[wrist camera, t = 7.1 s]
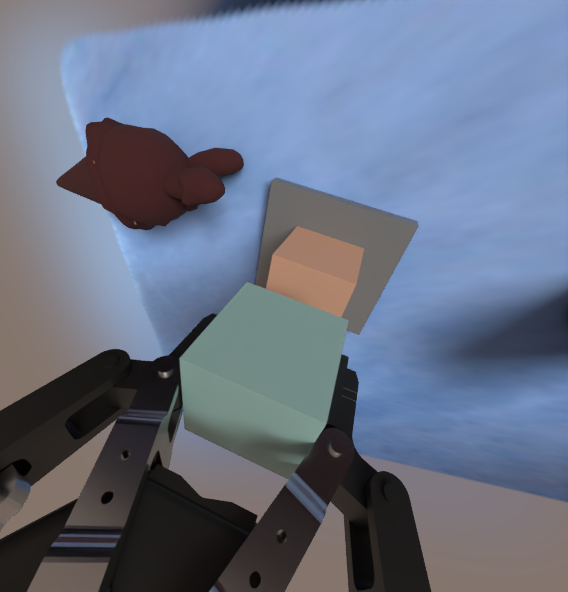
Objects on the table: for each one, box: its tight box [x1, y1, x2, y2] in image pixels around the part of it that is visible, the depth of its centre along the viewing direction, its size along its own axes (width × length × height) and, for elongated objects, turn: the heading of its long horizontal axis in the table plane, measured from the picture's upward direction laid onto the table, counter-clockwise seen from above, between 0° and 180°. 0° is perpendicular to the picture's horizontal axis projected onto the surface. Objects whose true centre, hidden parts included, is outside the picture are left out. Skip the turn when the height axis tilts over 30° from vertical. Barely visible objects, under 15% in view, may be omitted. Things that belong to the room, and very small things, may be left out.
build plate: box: [255, 178, 418, 335], centre depth 20 cm, size 10×10×1 cm
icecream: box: [56, 118, 244, 230], centre depth 19 cm, size 7×7×15 cm
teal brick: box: [179, 282, 349, 479], centre depth 12 cm, size 5×5×5 cm
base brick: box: [266, 226, 364, 317], centre depth 18 cm, size 5×5×5 cm
